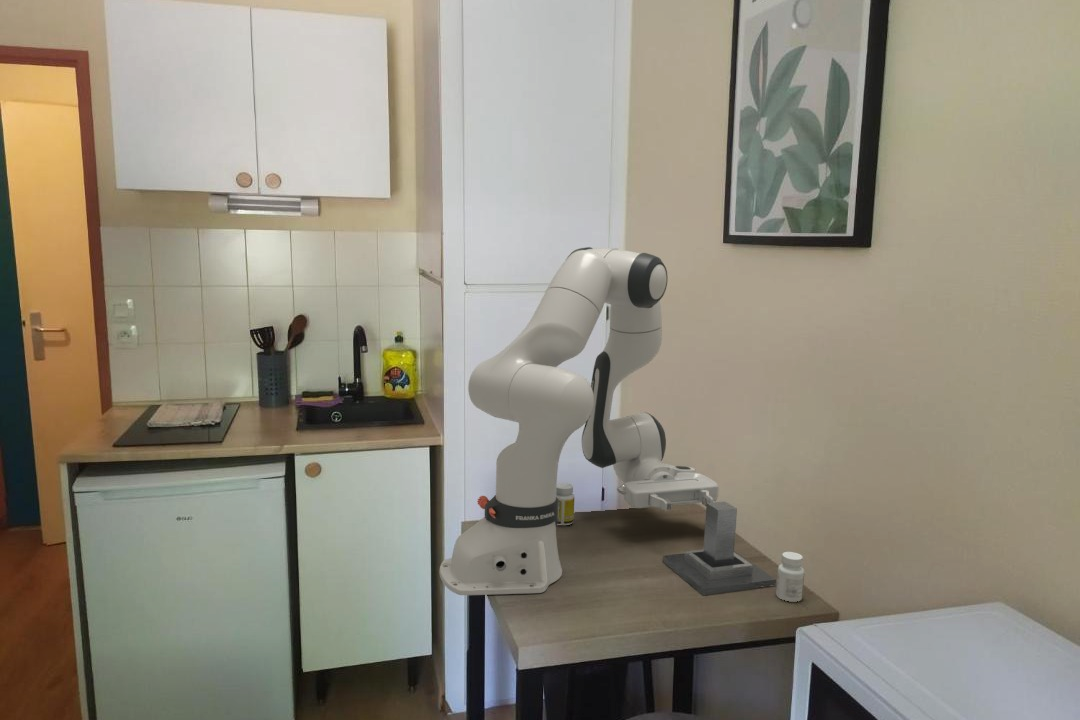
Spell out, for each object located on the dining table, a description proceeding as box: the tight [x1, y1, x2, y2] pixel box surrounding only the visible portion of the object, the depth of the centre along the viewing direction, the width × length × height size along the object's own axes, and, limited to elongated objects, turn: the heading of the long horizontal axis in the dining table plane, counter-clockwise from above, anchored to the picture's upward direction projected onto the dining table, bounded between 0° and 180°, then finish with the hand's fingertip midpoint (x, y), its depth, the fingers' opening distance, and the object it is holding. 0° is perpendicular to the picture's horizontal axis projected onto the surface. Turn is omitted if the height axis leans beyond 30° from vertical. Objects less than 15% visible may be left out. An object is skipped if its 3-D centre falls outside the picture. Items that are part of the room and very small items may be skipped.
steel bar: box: [702, 501, 738, 568], centre depth 142 cm, size 4×4×12 cm
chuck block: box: [662, 548, 777, 597], centre depth 142 cm, size 15×15×3 cm
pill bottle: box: [775, 551, 805, 603], centre depth 133 cm, size 4×4×8 cm
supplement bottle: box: [556, 482, 575, 525], centre depth 166 cm, size 5×5×8 cm
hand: (689, 504), depth 152 cm, fingers open, 8 cm apart
